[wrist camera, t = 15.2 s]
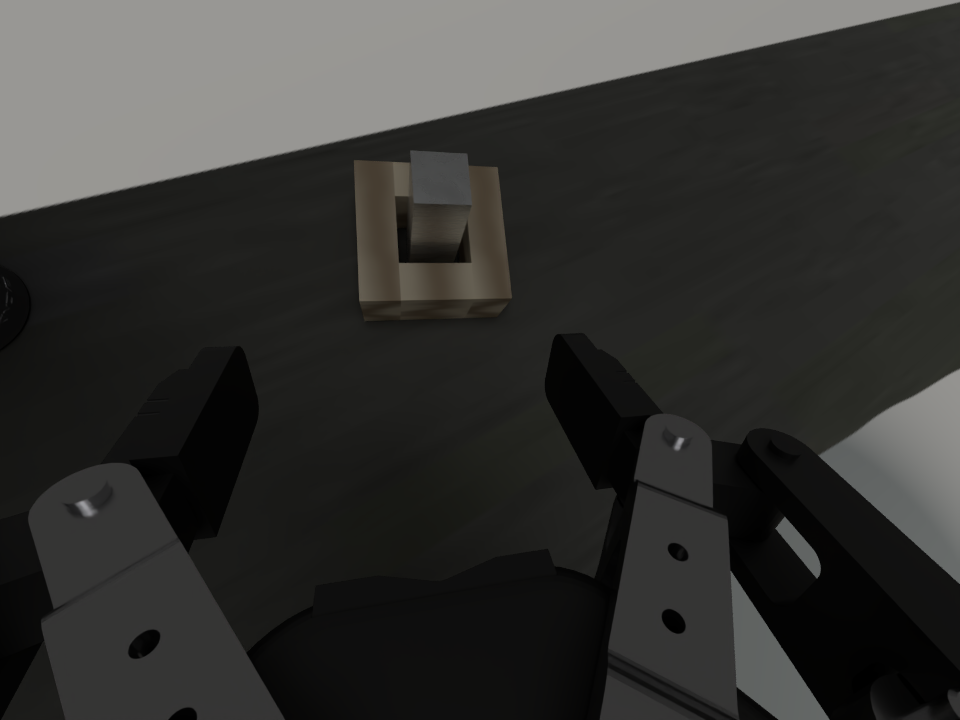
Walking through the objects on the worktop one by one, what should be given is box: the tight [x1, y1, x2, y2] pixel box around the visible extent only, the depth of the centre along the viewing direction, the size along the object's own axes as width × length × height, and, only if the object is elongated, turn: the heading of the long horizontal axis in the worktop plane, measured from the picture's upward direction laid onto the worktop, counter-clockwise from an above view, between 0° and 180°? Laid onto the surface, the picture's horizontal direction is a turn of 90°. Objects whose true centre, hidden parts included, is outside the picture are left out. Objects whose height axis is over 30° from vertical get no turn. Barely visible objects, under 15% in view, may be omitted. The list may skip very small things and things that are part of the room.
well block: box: [354, 160, 512, 321], centre depth 42 cm, size 14×14×6 cm
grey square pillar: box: [406, 151, 472, 263], centre depth 38 cm, size 4×4×14 cm
